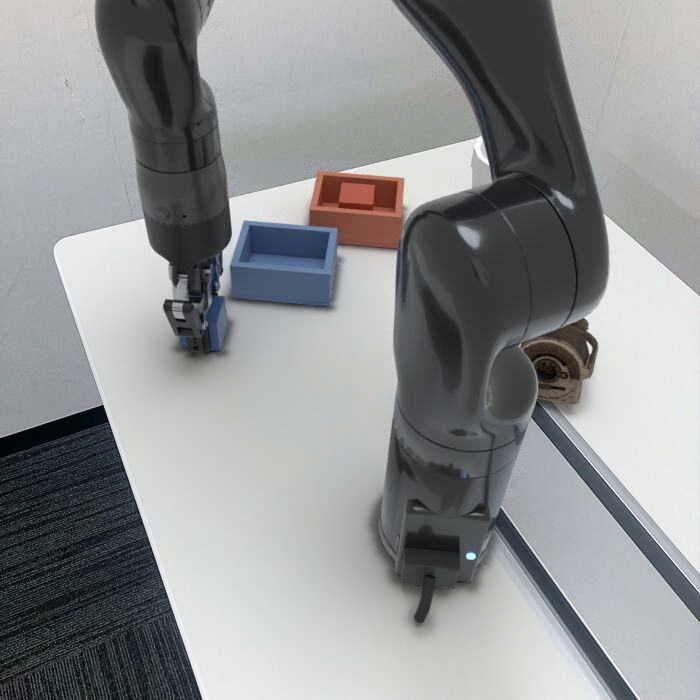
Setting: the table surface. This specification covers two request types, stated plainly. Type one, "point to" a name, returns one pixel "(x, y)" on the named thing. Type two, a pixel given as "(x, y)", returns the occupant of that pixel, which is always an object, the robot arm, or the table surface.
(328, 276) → the blue bin
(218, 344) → the slate block
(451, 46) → the robot arm
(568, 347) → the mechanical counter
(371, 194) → the terracotta block
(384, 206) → the terracotta bin
